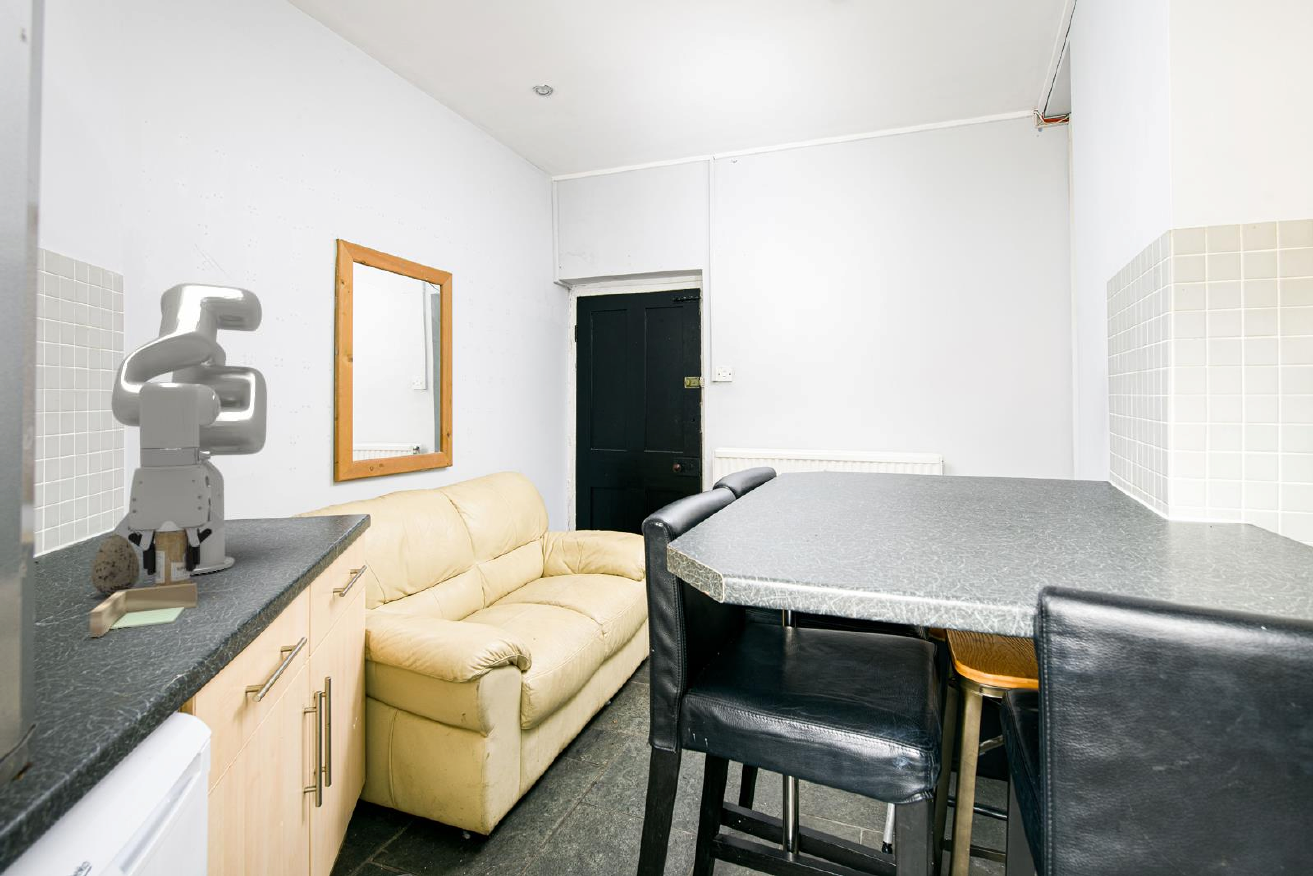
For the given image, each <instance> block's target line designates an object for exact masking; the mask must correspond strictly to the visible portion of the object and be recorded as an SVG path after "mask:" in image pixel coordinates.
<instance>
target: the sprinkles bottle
mask: <svg viewBox="0 0 1313 876" xmlns="http://www.w3.org/2000/svg"><path fill="white" fill-rule="evenodd" d="M188 541H189V540H188V534H187V531H186V529H181V528H177V526H176V525H175V524H174V523H173V522H171V521H166V522H164V523H163V525H162V526H161V528H160V529H158V530H156V532H155V541H154V544H155V546H156V547H155V574H154V575H155V576H154V578H155V581H154V582H155V585H156V586H155V587H159V586H170V585H181V584H190V577H191V576H190V572H189V571H187V548H188V547H189V542H188Z"/></svg>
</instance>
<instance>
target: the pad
mask: <svg viewBox="0 0 1313 876" xmlns="http://www.w3.org/2000/svg"><path fill="white" fill-rule="evenodd" d="M185 609H186V608H185V607H179V608H170V609H161V610H152V611H142V612H133V613H126V614H125V615H124V616H123V617H122V618H121V619H119V620H118V621H117V622H116V623H115V624H114V625H113V626H112V627H111V628H110V629H114V630H119V629H118V628H122V629H124V628H123V627H131V628H137V627H138V628H139V627H146V626H154V625H163V624H171V623H172V624H173V623H174V622H175V621H176V620H177V619H178V618H179V616H180V615H181V614H182V612H183V611H184V610H185Z"/></svg>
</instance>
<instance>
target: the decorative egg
mask: <svg viewBox="0 0 1313 876" xmlns="http://www.w3.org/2000/svg"><path fill="white" fill-rule="evenodd" d="M129 541H130V540H129V539H127V538H124V537H122V536H120V535H118V534H114V535H110V536H109V537H107V538H106V539H105V540H103V542H102V543H101V544H100V546H99V547H98V549H97V551H96V554H95V556H94V559H93V563H92V566H91V581H92V584H93V586H94V587H95V589H96V590H97V591H99V592H100V593H102V594H104V595H106V596H112V595H113V594H114V593H115V592H117V591H118V590H128V589H133V587H134V586H135V585H136V583H137V581H138V579H139V577H140V563H139V559H138V555H137V554H136V551H135V549H134V547H133V546H132V544H131V543H130V542H129Z"/></svg>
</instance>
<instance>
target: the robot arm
mask: <svg viewBox="0 0 1313 876" xmlns="http://www.w3.org/2000/svg"><path fill="white" fill-rule="evenodd" d="M160 312H161V320H160V321H161V322H160V327H159V331H158V337H156V338H154V339H152V340H150V341H148V342H146V343H145V344H142V345H141V346H139V347H138V348H137V349H135V350H134V351H132V352H131V353H130V354H128V355H127V356H126V357H125V358H124V359H123V361H121V363H120V365H119V367H118V368H117V372H116V377H115V380H114V383H113V390H112V395H111V412H112V415H113V417H114V418H115V420H117V421H118V423H120V424H122V425H124V426H128V427H134V428H135V427H136V428H138V427H139V461H140V462H139V465H140V466H139V467H136V468H135V470H134V473H133V477H132V482H131V488H130V494H129V495H130V496H129V504H128V508H129V509H128V513H127V514H126V515H125V516H124V517H123V518H122V519H121V520H120V522H119V523H118V524H116V526H115V528H114V529H113V532H114V533H115V535H120V536H122V537H124V538H125V539H127V540H128V541H130V542H131V543H132V544H134V545H135V546H137V547H139V549H140V551H142V568H143V570H147V576H152V575H155V547H156V546H155V532H156V530H158V529H160V528H161V526H162V525H163V523H164V522H166V521H171V522H173V523H174V524H175V525H176V526H177V528H181V529H186V531H187V534H188V540H189V541H188V542H189V547H188V548H187V571H189V572H190V575H191V576H195V575H194V574H199V573H205V572H211V573H213V572H212V571H216V570H219V569H222V568H227V569H229V568H228V567H230V566H232V565H233V564H234V565H235V558H234V557H232V556H226V547H225V543H226V542H225V539H226V538H225V535H226V534H225V525H226V521H225V484H224V483H225V480H224V479H225V478H224V476H223V474H222V473H221V471H220V470H219V469H218V467H216V466H215V465H214V464H213V463H212V461H210V460H211V457H214V456H244V455H249V456H250V455H255V454H257V453H259V452H260V451H262V450H263V448H264V447H265V443H266V440H267V439H266V438H267V417H268V416H267V411H268V410H267V406H268V393H267V392H268V391H267V384H266V379H265V377H264V375H263V374H262V372H260V370H258V369H257V368H254V367H249V366H238V365H226V364H227V363H226V361H227V353H226V351H225V350H224V348H223V347H222V346H221V345H220V344H219V343H218V342H217V337H218V330H225V331H236V332H237V331H238V332H239V331H240V332H255V331H256V330H257V329H259V327H260V325H261V322H262V318H263V317H262V315H263V311H262V305H261V302H260V299H259V297H258V296H257V294H255V293H254V292H252V291H251V290H248V289H245V288H243V287H233V286H226V285H215V284H204V283H194V282H193V283H192V282H190V283H189V282H188V283H180V284H176V285H174V286H172V287H171V288H169V289H166V290H165V291H164V292H163V293H162V295H161V297H160ZM171 372H172V375H171V376H172V377H171V382H169V381H153V382H152V381H150V380H152V379H154V378H156V377H159V376H161V375H164V374H168V373H171ZM141 532H142V533H141ZM234 565H233V566H234ZM233 566H232V567H233ZM230 568H231V567H230ZM216 572H217V571H216ZM199 575H200V574H199Z"/></svg>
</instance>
